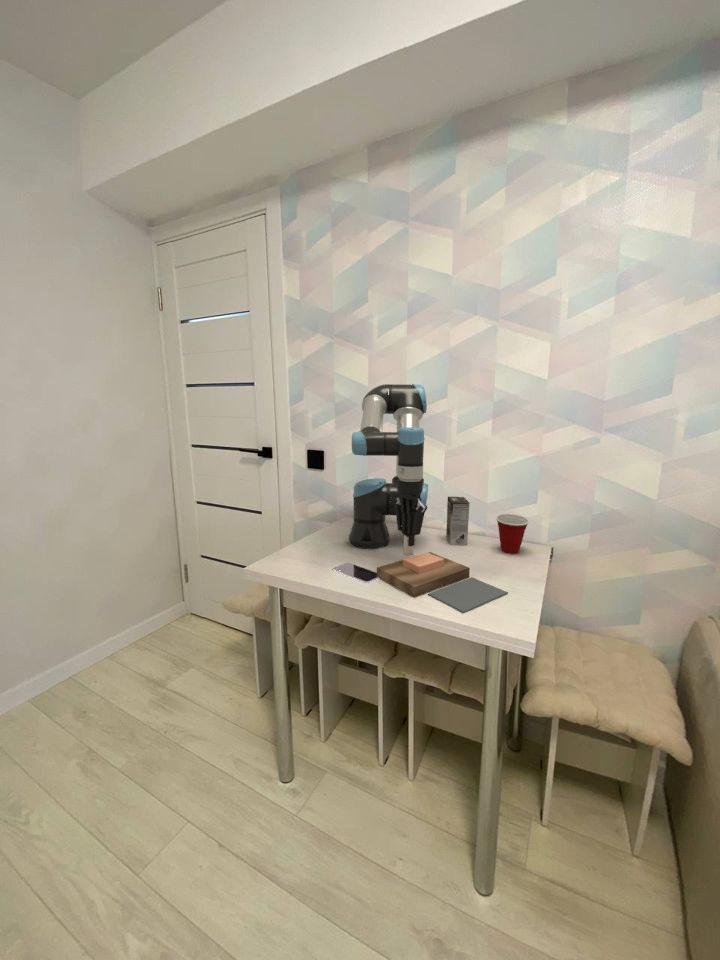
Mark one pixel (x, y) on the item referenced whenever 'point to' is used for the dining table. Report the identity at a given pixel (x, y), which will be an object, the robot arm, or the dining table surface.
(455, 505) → the coffee box
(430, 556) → the coral block
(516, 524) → the plastic cup
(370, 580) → the mobile phone
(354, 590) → the dining table surface
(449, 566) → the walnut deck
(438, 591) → the rubber mat
